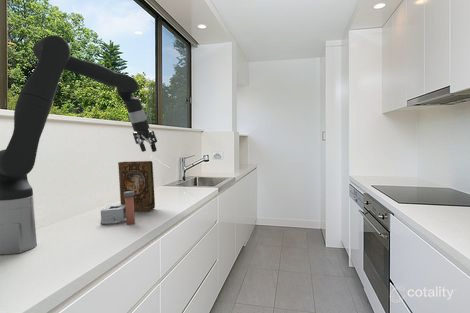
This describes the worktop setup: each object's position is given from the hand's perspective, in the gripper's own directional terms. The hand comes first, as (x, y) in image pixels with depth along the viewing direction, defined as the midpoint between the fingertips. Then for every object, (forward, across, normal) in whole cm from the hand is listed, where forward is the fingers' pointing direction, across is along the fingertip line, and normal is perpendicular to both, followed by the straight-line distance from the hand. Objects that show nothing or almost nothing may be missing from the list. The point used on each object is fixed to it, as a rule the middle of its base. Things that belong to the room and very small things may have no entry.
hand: (149, 151), depth 131 cm
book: (+27, -6, -14) cm, 31 cm away
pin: (+22, +12, -28) cm, 38 cm away
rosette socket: (+22, +1, -29) cm, 36 cm away
